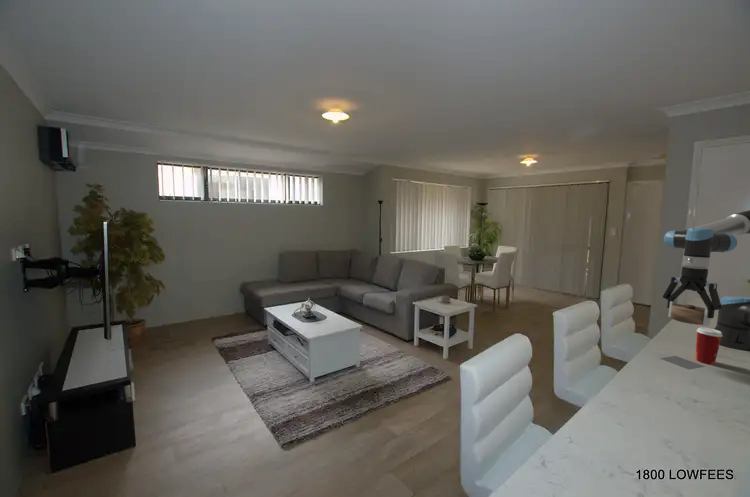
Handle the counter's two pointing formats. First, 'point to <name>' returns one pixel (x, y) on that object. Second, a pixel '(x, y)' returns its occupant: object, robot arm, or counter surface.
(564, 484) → the counter surface
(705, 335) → the paper cup
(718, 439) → the counter surface
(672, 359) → the mat
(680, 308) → the lid
